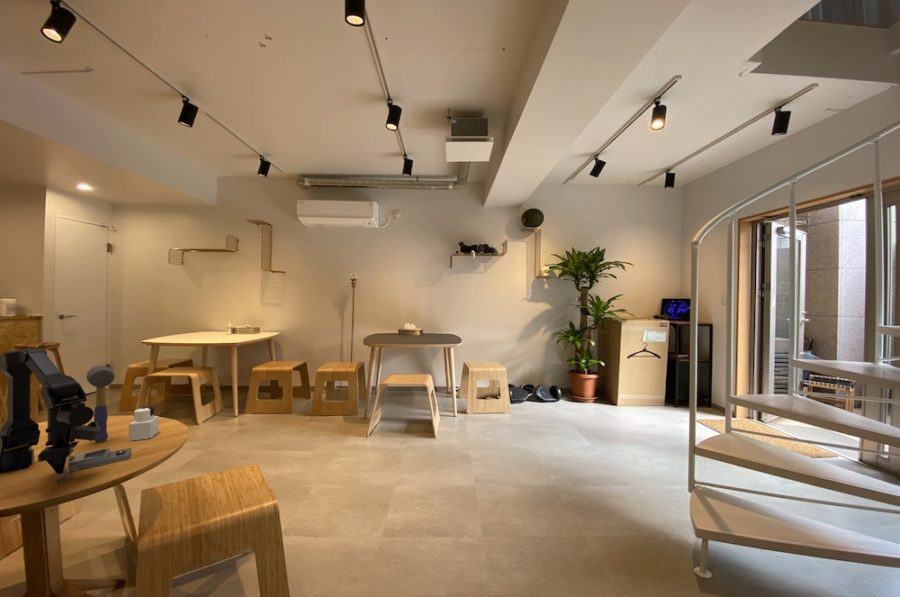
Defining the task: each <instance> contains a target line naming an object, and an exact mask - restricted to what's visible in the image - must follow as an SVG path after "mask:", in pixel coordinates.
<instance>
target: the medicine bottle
mask: <svg viewBox="0 0 900 597" xmlns="http://www.w3.org/2000/svg"><path fill="white" fill-rule="evenodd" d="M133 415H134V419H133V421H131V422H130V423H128V440H129V442H133V441H134V440H136V441H143V440H142V439H145V440H149V439H148V438H151V439H153V438H154V437H155V436H156V435H157V434H159V432H160V430H159V429H160V427H159V426H160V424H159V423H160V421H159V420H160V417H159V415H155V408H154V406H150V405H149V406H142V407H139V408H136V409H135V410H134V411H133ZM155 434H156V435H155ZM154 435H155V436H154Z"/></svg>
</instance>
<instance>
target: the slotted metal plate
mask: <svg viewBox="0 0 900 597" xmlns="http://www.w3.org/2000/svg"><path fill="white" fill-rule="evenodd" d="M131 453H132V447H126V448H122V449H118V450H113V451H111V447H107V448H102V449H97V450H96V449H95V450H92V451H88V452H81V453H77V454H72V455H70V456H69V473H70V472H75V471H79V470H80V471H81V470H83V469H84V468H85V469H89V468H93V466H94V467H97V466H96V465H98V466H102V465H101V464H103V465H106V463H107V464H111V463H116V462H120V461H125V460H129V459H130V458H131V455H130V454H131Z"/></svg>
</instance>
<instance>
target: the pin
mask: <svg viewBox="0 0 900 597" xmlns="http://www.w3.org/2000/svg"><path fill="white" fill-rule="evenodd" d="M68 479H69V480H70V472H69V456H67V459H66V463H65V467H64V471H63V473H62V474H57V473H56V472H55V471H54V484H55V483H58V484H61V483H60V482H63V483H65V482H67V480H68ZM69 480H68V481H69ZM64 481H65V482H64Z"/></svg>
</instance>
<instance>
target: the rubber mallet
mask: <svg viewBox="0 0 900 597" xmlns="http://www.w3.org/2000/svg"><path fill="white" fill-rule="evenodd" d="M115 377H116V376H115V372H114V370H112V368H110V367H108V366H106V365H96V366H93V367H91V368H90V369H89V370H88V372H87V374H86V381H87V382H88V383H89V384H90V385H91V386H93V387H94V388H95V387H96V390H95V391H96V393H95V395H96V402H95V407H94V410H93V412H94V415H93V421H94V422H97V424H98V427H99V426H100V427H101V429H100V431H99V434H98V436H97V438H96V440H94V441H93V442H94V443H96V444H100V443H104V442H107V440H108V438H109V434H108V431H107V430H108V426H107V424H108V423H107V422H108V417H109V415H108V407H107V404H106V387H107V386H110V385H111V384H112V383H113V382H114V380H115Z"/></svg>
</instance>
